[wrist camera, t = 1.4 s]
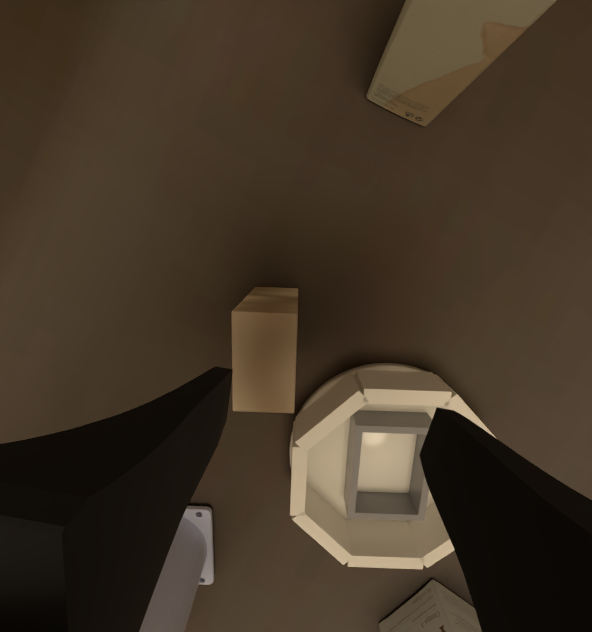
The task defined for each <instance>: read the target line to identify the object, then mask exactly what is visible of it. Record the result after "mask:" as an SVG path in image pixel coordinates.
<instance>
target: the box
mask: <svg viewBox="0 0 592 632" xmlns="http://www.w3.org/2000/svg"><path fill="white" fill-rule="evenodd" d="M555 1H557V0H406V1H405V3H404V6H403V8H402V10H401V13H400V15H399V17H398V20H397V22H396V24H395V27H394V29H393V32H392V34H391V36H390V39H389V41H388V43H387V45H386V48H385V50H384V53H383V55H382V58H381V60H380V62H379V65H378V67H377V70H376V72H375V75H374V77H373V80H372V82H371V85H370V88H369V90H368V93H367V95H366V97H367V99H368V100H370V101H372V102H374V103H376V104H377V105H379V106H381V107H383V108H385V109H387V110H389V111H391V112H393V113H395V114H397V115H399V116H401V117H403V118H406V119H408V120H410V121H412V122H414V123H417V124H419V125H421V126H427V125H428V124H429V123H430V122H431V121H432V120H433V119H434V118H435V117H436V116H437V115H438V114H439V113H440V112H441V111H442V110H443V109H444V108H445V107H446V106H447V105H448V104H449V103H450V102H451V101H452V100H454V99H455V98H456V97H457V96H458V95H459V94H460V93H461V92H462V91H463V90H464V89H465V88H466V87H467V86H468V85H469V84H470V83H471V82H472V81H473V80H474V79H476V78H477V77H478V76H479V75H480V74H481V73H482V72H483V71H484V70H485V69H486V68H487V67H488V66H489V65H490V64H491V63H492V62H493V61H494V60H495V59H496V58H497V57H498V56H499V55H500V54H501V53H502V52H503V51H504V50H505V49H506V48H507V47H508V46H509V45H510V44H511V43H513V42H514V41H515V40H516V39H517V38H518V37H519V36H520V35H521V34H522V33H523V32H524V31H525V30H526V29H527V28H528V27H529V26H530V25H531V24H532V23H534V22H535V21H536V20H537V19H538V18H539V17H540V16H541V15H542V14H543V13H544V12H545V11H546V10H547V9H548V8H549V7H550V6H551V5H552V4H553V3H554V2H555Z"/></svg>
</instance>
